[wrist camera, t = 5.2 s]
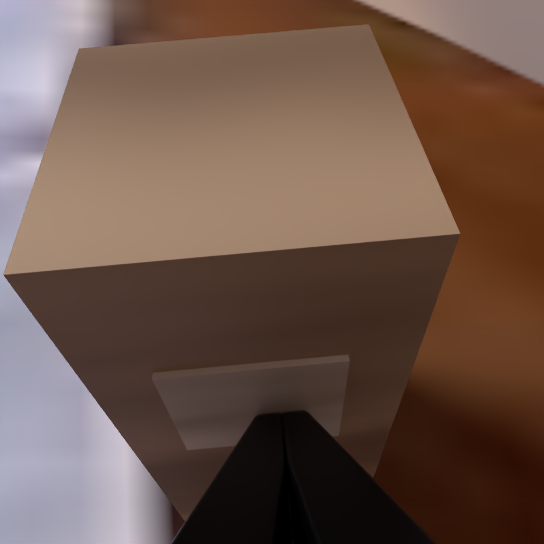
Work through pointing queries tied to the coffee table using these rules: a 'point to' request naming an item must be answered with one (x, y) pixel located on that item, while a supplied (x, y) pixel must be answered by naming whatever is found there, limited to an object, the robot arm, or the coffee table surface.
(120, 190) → the cardboard box
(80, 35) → the coffee table surface
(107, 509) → the coffee table surface
